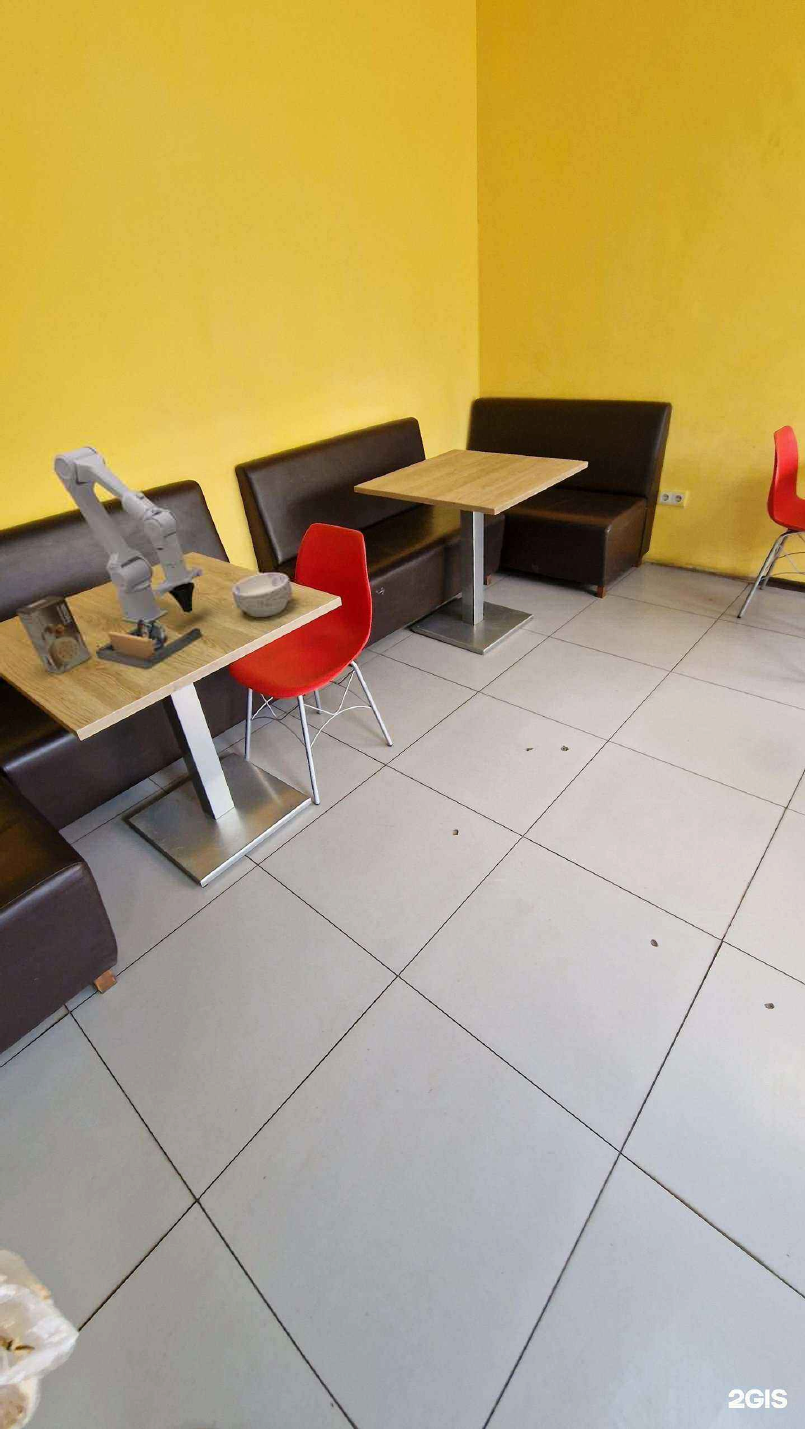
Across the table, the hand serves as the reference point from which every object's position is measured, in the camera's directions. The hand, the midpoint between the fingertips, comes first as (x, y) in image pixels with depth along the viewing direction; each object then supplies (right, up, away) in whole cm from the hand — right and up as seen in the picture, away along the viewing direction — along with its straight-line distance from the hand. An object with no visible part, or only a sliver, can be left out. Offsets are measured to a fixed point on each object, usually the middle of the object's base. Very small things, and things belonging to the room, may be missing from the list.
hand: (188, 611), depth 166 cm
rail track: (-6, -10, -8) cm, 14 cm away
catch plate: (-9, -13, -12) cm, 20 cm away
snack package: (-7, -9, -6) cm, 13 cm away
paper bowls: (+20, +1, +3) cm, 20 cm away
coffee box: (-25, -15, -12) cm, 32 cm away
